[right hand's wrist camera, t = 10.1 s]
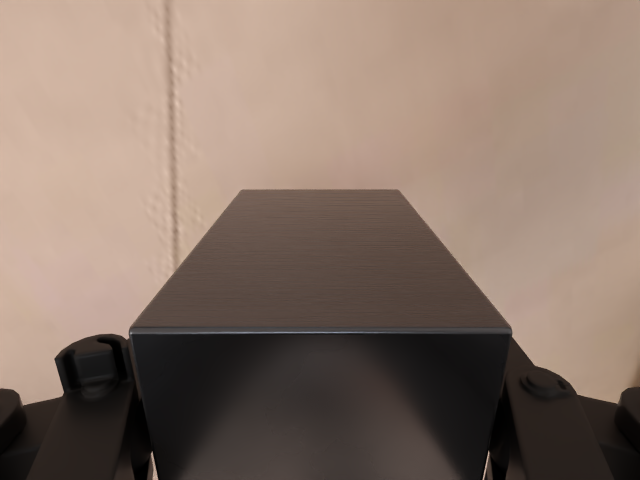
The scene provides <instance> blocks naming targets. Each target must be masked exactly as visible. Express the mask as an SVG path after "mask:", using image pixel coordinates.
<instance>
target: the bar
mask: <svg viewBox="0 0 640 480" xmlns="http://www.w3.org/2000/svg"><path fill="white" fill-rule="evenodd" d="M129 338H130V343H131V347H132V352H133V357H134V362H135V367H136V372H137V377H138V382H139V387H140V392H141V397H142V402H143V407H144V411H145V416H146V421H147V426H148V431H149V436H150V441H151V446H152V451H153V456H154V461H155V466H156V471H157V475H158V480H483V475H484V470H485V465H486V460H487V455H488V450H489V446H490V441H491V436H492V431H493V426H494V421H495V416H496V411H497V406H498V401H499V397H500V392H501V387H502V382H503V377H504V372H505V367H506V362H507V357H508V353H509V348H510V343H511V338H512V329H511V326H510V325H509V324H508V323H507V322H506V320H505V319H504V318H503V317H502V315H501V314H500V313H499V312H498V311H497V309H496V308H495V307H494V306H493V304H492V303H491V302H490V301H489V300H488V298H487V297H486V296H485V295H484V293H483V292H482V291H481V290H480V289H479V287H478V286H477V285H476V284H475V282H474V281H473V280H472V279H471V278H470V276H469V275H468V274H467V273H466V272H465V270H464V269H463V268H462V267H461V265H460V264H459V263H458V262H457V261H456V259H455V258H454V257H453V256H452V254H451V253H450V252H449V251H448V250H447V248H446V247H445V246H444V245H443V243H442V242H441V241H440V240H439V239H438V237H437V236H436V235H435V234H434V232H433V231H432V230H431V229H430V228H429V226H428V225H427V224H426V223H425V221H424V220H423V219H422V218H421V217H420V215H419V214H418V213H417V212H416V211H415V209H414V208H413V207H412V206H411V204H410V203H409V202H408V201H407V200H406V198H405V197H404V196H403V195H402V193H401V192H400V191H399V190H241V191H240V192H239V193H238V195H237V196H236V197H235V198H234V200H233V201H232V202H231V203H230V205H229V206H228V207H227V208H226V210H225V211H224V212H223V213H222V214H221V216H220V217H219V218H218V219H217V221H216V222H215V223H214V224H213V226H212V227H211V228H210V229H209V230H208V232H207V233H206V234H205V235H204V237H203V238H202V239H201V240H200V242H199V243H198V244H197V245H196V247H195V248H194V249H193V250H192V251H191V253H190V254H189V255H188V256H187V258H186V259H185V260H184V261H183V263H182V264H181V265H180V266H179V267H178V269H177V270H176V271H175V272H174V274H173V275H172V276H171V277H170V279H169V280H168V281H167V282H166V284H165V285H164V286H163V287H162V288H161V290H160V291H159V292H158V293H157V295H156V296H155V297H154V298H153V300H152V301H151V302H150V303H149V304H148V306H147V307H146V308H145V309H144V311H143V312H142V313H141V314H140V316H139V317H138V318H137V319H136V321H135V322H134V323H133V324H132V325H131V327H130V329H129Z"/></svg>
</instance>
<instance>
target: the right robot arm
mask: <svg viewBox="0 0 640 480" xmlns="http://www.w3.org/2000/svg"><path fill="white" fill-rule="evenodd" d="M55 363H56V366H57V369H58V373H59V376H60V380H61V383H62V387H63V390H64V394H63V396H62V397H59V398H55V399H51V400H46V401H42V402H37V403H32V404H28V405H22V402H21V399H20V396H19V394H18V393H17V392H15V391H14V390H11V389H0V480H152V478H153V464H152V458H151V453H152V446H151V441H150V436H149V431H148V426H147V421H146V416H145V411H144V407H143V402H142V397H141V392H140V387H139V382H138V377H137V372H136V367H135V362H134V357H133V352H132V347H131V343H130V339H128V340H126V339H125V338H124V337H122V336H120V335H115V334H99V335H95V336H91V337H87V338H84V339H81V340H79V341H77V342H74V343H72V344H71V345H69V346H68V347H66V348H65V349H63V350H62V351H61V352H60V353H59V354H58V355H57V356H56V358H55ZM489 452H490V454H489V458H488V463H487V468H486V473H485V478H484V480H640V387H633V388H628V389H626V390H625V391H624V392H622V394H621V397H620V400H619V403H618V404H616V403H611V402H606V401H602V400H597V399H593V398H588V397H584V396H580V395H577V393H576V391H575V390H574V389H573V387H572V386H571V384H570V383H569V382H567V381H566V380H565V379H563V378H562V377H561V376H560V375H558V374H556V373H554V372H551V371H549V370H547V369H544V368H541V367H537V366H535V365H534V364H533V363H532V362H531V360H530V359H529V358H528V357H527V355H526V354H525V353H524V351H523V350H522V349H521V348H520V346H519V345H518V344H517V343H516V341H515V340H514V339H513V338H511V343H510V348H509V353H508V357H507V362H506V367H505V372H504V377H503V382H502V387H501V392H500V397H499V401H498V406H497V411H496V416H495V421H494V426H493V431H492V436H491V441H490V446H489Z"/></svg>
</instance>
